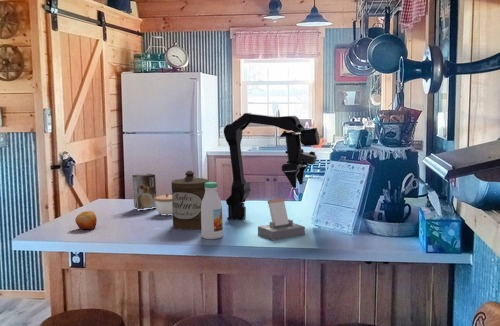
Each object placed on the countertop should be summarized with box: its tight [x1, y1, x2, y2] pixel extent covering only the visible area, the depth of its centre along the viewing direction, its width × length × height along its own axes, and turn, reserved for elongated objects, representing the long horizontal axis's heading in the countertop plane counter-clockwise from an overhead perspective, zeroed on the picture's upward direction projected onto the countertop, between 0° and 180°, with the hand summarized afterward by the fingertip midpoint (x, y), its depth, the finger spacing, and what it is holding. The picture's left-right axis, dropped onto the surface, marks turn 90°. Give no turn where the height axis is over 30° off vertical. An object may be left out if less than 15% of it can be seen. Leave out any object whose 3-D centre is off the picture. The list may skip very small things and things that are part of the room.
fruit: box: [75, 210, 98, 230], centre depth 212 cm, size 8×8×8 cm
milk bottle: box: [200, 181, 224, 240], centre depth 195 cm, size 8×8×20 cm
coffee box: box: [131, 173, 157, 209], centre depth 248 cm, size 9×6×16 cm
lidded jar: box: [155, 192, 172, 215], centre depth 236 cm, size 11×11×9 cm
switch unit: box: [257, 218, 306, 241], centre depth 197 cm, size 10×14×5 cm
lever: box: [267, 197, 289, 227], centre depth 198 cm, size 2×6×10 cm, turn 120°
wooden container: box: [171, 170, 209, 230], centre depth 213 cm, size 15×15×22 cm
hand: (298, 186), depth 215 cm, fingers open, 9 cm apart
